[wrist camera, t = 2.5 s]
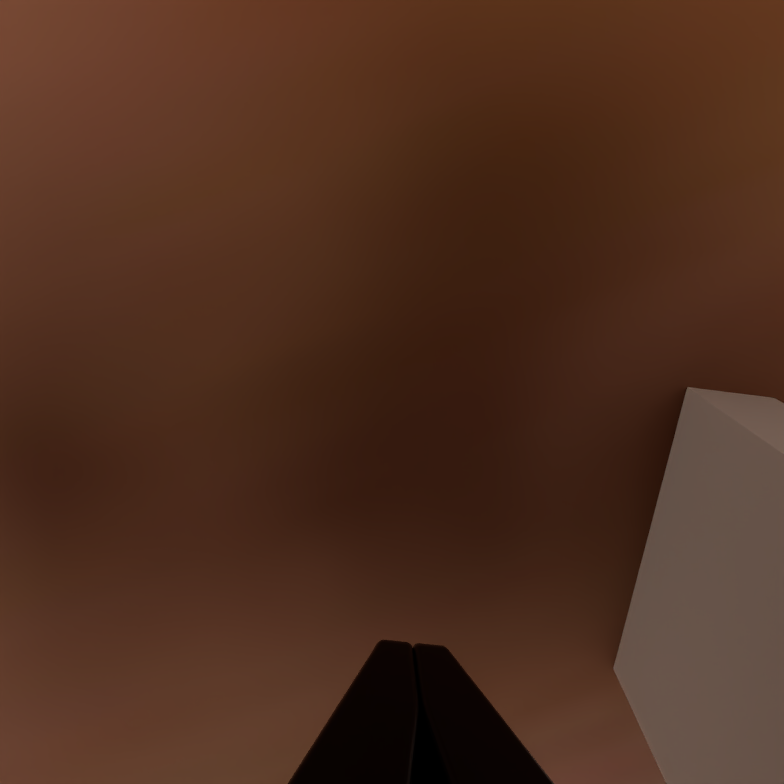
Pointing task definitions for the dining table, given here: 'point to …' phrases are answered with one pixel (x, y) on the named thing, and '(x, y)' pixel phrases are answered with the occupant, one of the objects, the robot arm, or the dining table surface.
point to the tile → (713, 598)
